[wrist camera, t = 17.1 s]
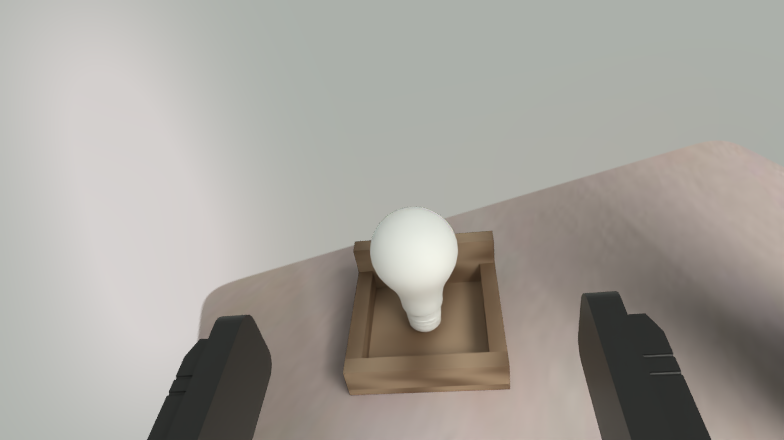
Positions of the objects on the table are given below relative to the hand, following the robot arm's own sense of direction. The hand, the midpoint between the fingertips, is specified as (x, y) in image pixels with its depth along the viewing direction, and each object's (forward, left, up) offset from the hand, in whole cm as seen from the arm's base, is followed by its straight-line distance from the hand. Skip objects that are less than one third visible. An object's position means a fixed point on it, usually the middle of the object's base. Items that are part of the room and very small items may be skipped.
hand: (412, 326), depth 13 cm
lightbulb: (+2, -19, -22) cm, 29 cm away
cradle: (+2, -19, -22) cm, 29 cm away
